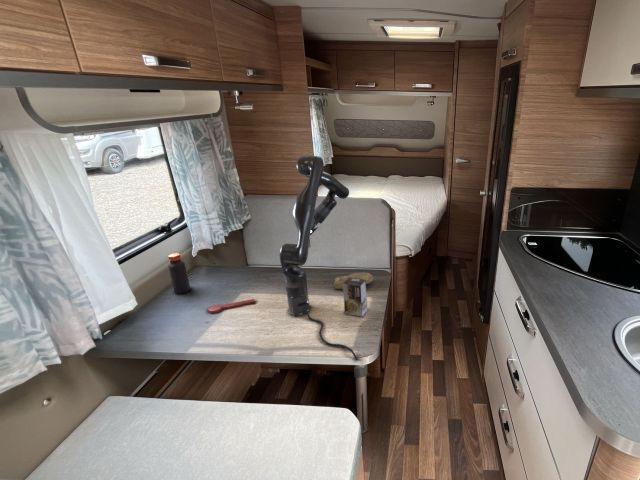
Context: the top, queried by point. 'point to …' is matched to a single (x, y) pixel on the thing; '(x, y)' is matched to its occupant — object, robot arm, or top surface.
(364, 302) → the coffee box
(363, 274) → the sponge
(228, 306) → the spoon
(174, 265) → the bottle
